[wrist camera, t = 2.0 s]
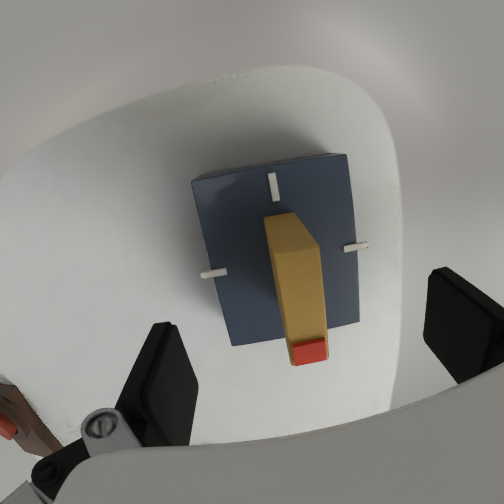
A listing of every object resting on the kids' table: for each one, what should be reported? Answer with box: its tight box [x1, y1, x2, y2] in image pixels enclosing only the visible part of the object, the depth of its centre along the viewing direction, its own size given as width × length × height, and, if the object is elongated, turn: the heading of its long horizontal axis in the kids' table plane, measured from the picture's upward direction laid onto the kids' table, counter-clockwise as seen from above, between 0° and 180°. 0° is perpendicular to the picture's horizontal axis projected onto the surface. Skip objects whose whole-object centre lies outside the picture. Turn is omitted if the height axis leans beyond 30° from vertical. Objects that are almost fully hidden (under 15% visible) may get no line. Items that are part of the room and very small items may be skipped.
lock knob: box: [263, 212, 329, 366], centre depth 13 cm, size 5×2×6 cm, turn 11°
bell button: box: [0, 414, 17, 440], centre depth 20 cm, size 3×3×2 cm
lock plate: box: [191, 153, 368, 346], centre depth 17 cm, size 10×9×3 cm
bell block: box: [0, 384, 64, 457], centre depth 24 cm, size 12×9×4 cm
